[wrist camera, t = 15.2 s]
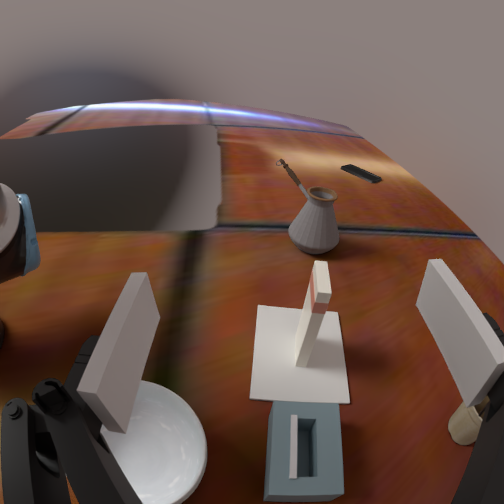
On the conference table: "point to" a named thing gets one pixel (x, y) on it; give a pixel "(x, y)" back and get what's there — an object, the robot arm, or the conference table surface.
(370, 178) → the phone
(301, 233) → the coffee pot
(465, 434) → the flower pot
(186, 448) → the cereal bowl
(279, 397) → the mat
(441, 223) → the conference table surface
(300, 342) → the pink striped white block
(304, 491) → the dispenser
